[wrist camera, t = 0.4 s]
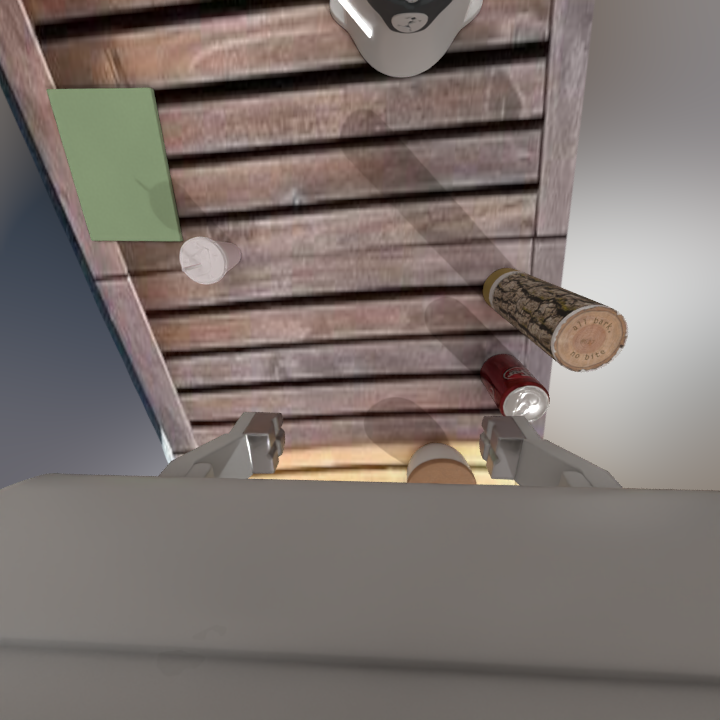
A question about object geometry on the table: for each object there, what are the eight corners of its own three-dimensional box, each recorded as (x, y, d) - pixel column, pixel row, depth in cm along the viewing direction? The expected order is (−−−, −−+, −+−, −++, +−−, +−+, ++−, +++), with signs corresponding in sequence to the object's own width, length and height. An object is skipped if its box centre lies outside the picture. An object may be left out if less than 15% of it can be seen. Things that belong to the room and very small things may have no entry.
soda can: (495, 345, 59) (522, 375, 48) (528, 364, 60) (562, 397, 49) (471, 377, 62) (491, 412, 51) (503, 394, 63) (529, 432, 52)
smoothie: (205, 261, 56) (154, 275, 43) (218, 225, 54) (167, 228, 41) (241, 280, 57) (201, 300, 44) (255, 246, 55) (217, 255, 42)
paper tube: (488, 264, 54) (569, 300, 31) (530, 270, 54) (641, 311, 31) (476, 305, 57) (542, 366, 34) (516, 311, 57) (609, 376, 34)
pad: (51, 90, 48) (46, 89, 47) (153, 89, 47) (150, 87, 46) (94, 240, 56) (91, 240, 55) (183, 240, 55) (180, 241, 54)
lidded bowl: (438, 420, 66) (449, 458, 56) (477, 458, 69) (494, 500, 59) (391, 455, 70) (393, 496, 60) (430, 489, 73) (438, 534, 63)
